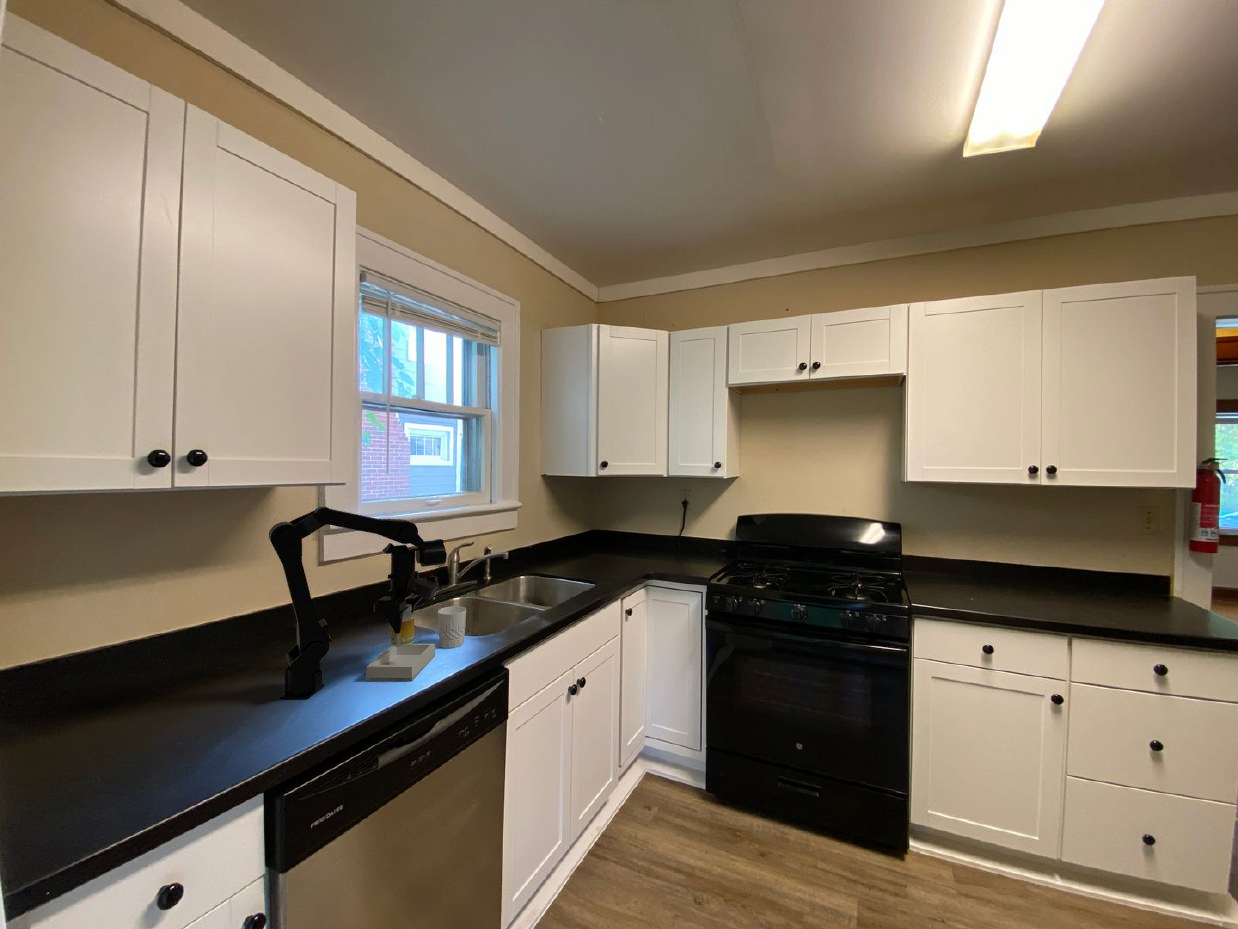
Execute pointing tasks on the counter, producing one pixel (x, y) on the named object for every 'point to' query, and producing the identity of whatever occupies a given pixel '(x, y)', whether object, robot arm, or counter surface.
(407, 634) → the supplement bottle
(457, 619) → the white cup
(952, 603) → the counter surface
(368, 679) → the box
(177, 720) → the counter surface
